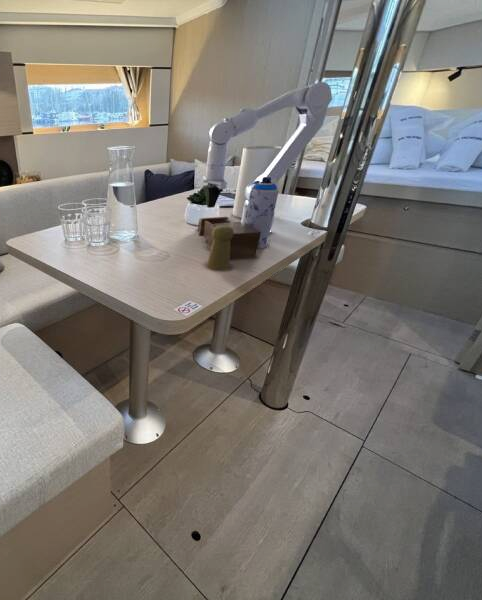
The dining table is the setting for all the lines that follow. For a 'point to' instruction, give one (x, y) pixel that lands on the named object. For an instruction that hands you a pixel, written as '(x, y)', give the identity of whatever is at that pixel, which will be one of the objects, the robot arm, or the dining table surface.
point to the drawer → (206, 224)
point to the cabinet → (239, 240)
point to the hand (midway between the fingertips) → (210, 207)
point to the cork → (220, 248)
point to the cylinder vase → (252, 171)
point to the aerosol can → (262, 208)
